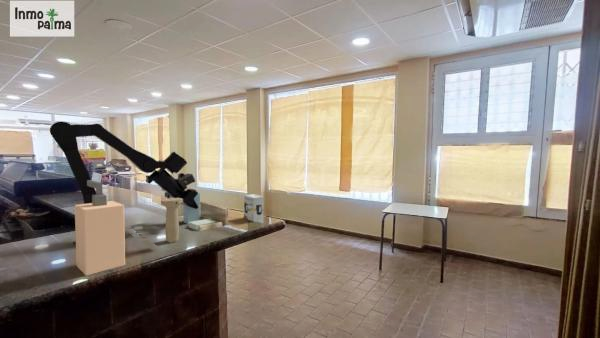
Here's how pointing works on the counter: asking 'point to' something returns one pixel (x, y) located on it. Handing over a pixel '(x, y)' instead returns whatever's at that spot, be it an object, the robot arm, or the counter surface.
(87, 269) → the soap dispenser
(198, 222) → the pale green block
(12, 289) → the counter surface
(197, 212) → the light blue block
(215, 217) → the rack
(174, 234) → the handle
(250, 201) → the ink box
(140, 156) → the robot arm
